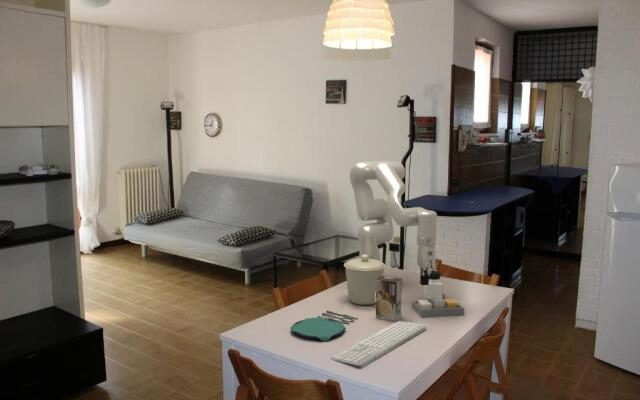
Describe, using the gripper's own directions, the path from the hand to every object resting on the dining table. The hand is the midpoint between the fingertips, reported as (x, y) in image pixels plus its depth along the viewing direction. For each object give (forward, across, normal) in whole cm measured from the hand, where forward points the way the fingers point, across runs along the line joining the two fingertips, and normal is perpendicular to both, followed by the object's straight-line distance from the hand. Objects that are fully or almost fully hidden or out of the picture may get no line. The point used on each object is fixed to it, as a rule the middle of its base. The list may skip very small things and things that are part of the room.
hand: (424, 284), depth 229 cm
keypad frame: (+12, -1, -6) cm, 13 cm away
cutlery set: (+13, -11, +43) cm, 46 cm away
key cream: (+10, -1, 0) cm, 10 cm away
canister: (+12, +16, +21) cm, 29 cm away
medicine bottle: (+12, +18, -11) cm, 24 cm away
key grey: (+9, -1, -6) cm, 11 cm away
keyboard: (+12, -30, +26) cm, 41 cm away
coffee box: (+12, -5, +16) cm, 21 cm away
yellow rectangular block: (+10, -1, -11) cm, 15 cm away
